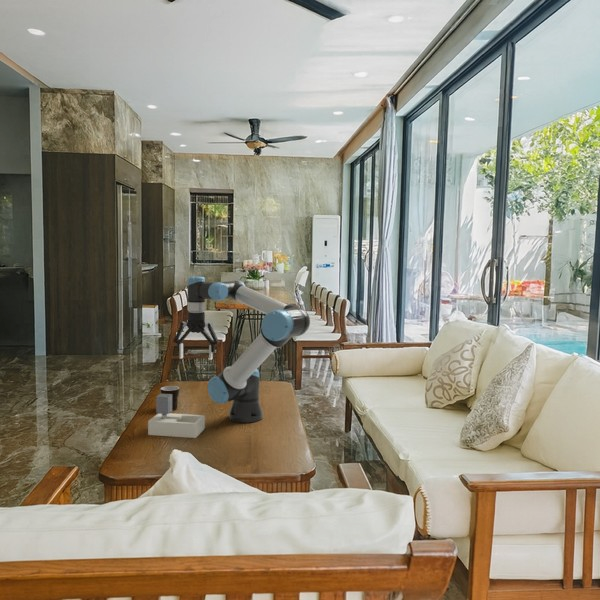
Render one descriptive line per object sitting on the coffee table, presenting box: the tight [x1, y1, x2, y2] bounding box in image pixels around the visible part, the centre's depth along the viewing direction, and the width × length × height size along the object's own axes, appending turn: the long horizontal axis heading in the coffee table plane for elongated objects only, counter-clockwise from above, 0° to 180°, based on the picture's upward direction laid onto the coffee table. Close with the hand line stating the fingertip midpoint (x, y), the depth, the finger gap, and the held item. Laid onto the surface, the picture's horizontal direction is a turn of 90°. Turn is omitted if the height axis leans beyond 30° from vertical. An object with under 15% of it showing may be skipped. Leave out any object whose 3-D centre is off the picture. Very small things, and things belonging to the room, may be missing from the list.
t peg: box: [155, 393, 173, 419], centre depth 230 cm, size 7×7×14 cm
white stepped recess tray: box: [147, 412, 206, 439], centre depth 230 cm, size 20×12×6 cm, turn 82°
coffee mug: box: [160, 385, 180, 412], centre depth 264 cm, size 12×9×10 cm
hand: (196, 359), depth 248 cm, fingers open, 13 cm apart
